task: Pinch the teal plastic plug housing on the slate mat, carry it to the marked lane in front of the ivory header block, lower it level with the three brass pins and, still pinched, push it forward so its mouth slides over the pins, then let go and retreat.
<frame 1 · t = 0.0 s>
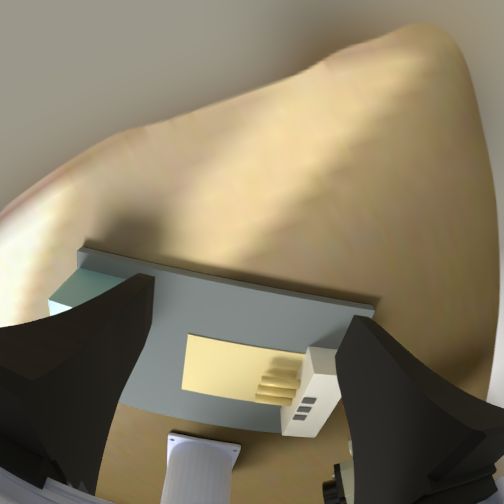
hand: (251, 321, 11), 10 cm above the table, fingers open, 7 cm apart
mat: (210, 361, 25), on the table
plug: (107, 305, 22), point 1 cm above the table, touching mat
pneumatic valve: (368, 423, 29), on the table
header: (310, 383, 25), resting on mat
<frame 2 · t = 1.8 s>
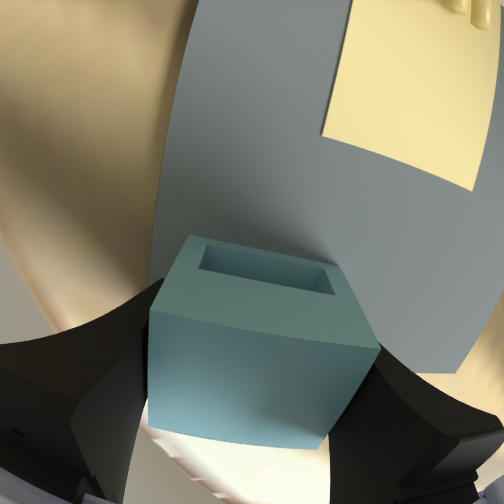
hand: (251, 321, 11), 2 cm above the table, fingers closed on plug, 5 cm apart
mat: (410, 110, 10), on the table
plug: (251, 305, 12), point 1 cm above the table, touching gripper, mat
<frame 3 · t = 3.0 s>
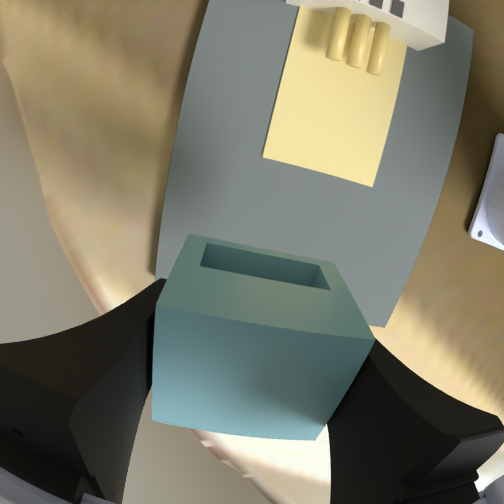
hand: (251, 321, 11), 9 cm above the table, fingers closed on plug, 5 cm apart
mat: (325, 136, 16), on the table
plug: (249, 302, 12), point 7 cm above the table, touching gripper
header: (360, 4, 12), resting on mat
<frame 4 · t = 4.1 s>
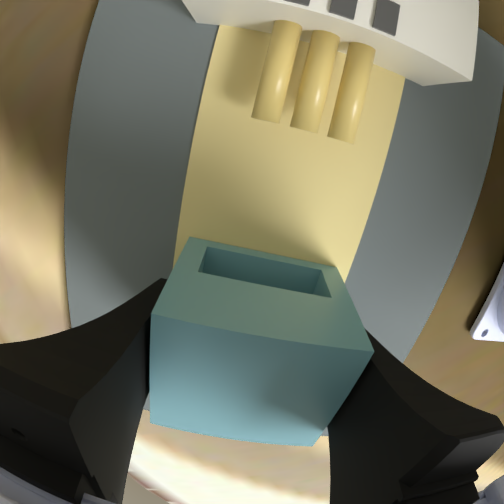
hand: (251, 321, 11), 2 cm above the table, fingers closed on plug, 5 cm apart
mat: (267, 233, 12), on the table
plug: (251, 305, 12), point 1 cm above the table, touching gripper, mat
header: (325, 9, 8), resting on mat
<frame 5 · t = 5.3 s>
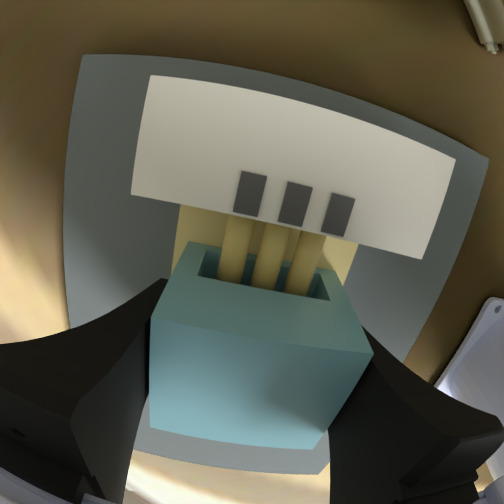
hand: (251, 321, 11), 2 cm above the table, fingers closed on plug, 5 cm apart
mat: (238, 344, 14), on the table
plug: (250, 309, 12), point 1 cm above the table, touching gripper
pneumatic valve: (480, 13, 8), on the table
header: (290, 154, 10), resting on mat
when the fingers open (2 cm above the table, at t = 6.3 s): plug stays where it is, resting on mat.
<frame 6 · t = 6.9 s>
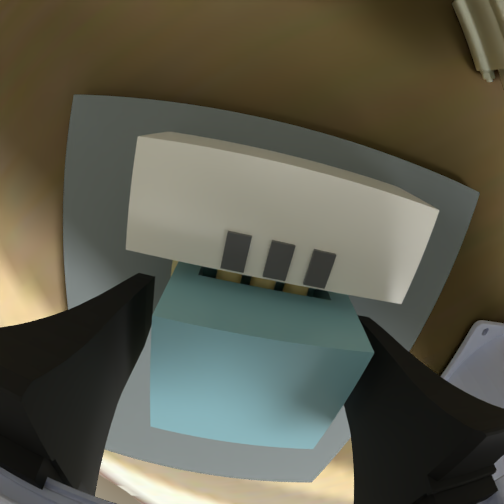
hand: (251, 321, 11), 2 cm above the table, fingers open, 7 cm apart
mat: (232, 367, 14), on the table
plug: (250, 309, 12), point 1 cm above the table, touching mat
pneumatic valve: (478, 37, 8), on the table
header: (278, 198, 10), resting on mat
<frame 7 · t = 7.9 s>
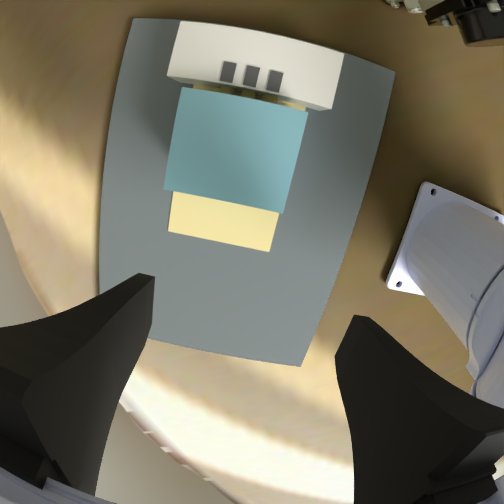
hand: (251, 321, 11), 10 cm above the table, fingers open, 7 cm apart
mat: (225, 206, 19), on the table
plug: (238, 142, 17), point 1 cm above the table, touching mat
header: (255, 69, 15), resting on mat
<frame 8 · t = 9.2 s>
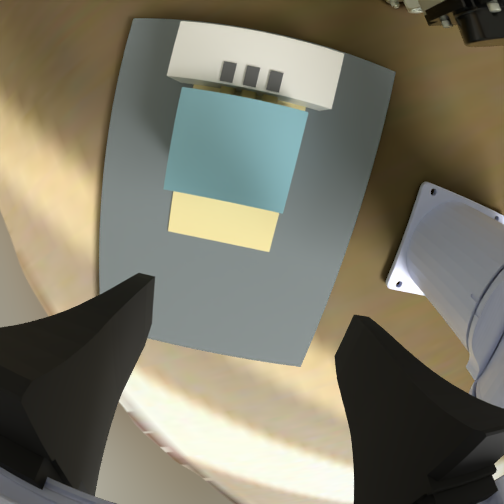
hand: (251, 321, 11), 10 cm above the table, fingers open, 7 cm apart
mat: (225, 206, 19), on the table
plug: (238, 142, 17), point 1 cm above the table, touching mat
header: (255, 69, 15), resting on mat
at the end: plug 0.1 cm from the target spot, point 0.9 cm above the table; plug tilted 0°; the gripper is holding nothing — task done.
